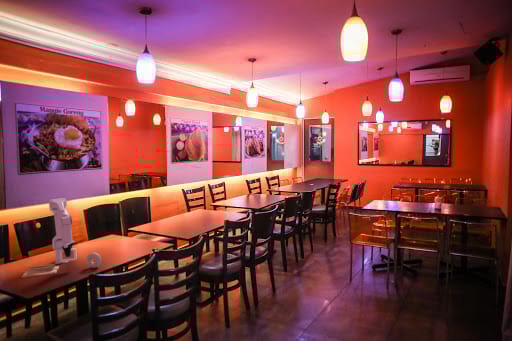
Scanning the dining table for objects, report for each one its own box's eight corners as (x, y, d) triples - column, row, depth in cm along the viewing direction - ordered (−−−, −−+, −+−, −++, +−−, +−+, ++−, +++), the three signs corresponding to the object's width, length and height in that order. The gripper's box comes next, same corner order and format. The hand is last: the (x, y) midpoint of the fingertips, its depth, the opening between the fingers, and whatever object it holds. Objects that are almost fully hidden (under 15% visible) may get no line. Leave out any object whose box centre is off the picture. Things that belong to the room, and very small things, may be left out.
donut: (102, 266, 223) (101, 251, 222) (99, 268, 219) (98, 253, 218) (88, 266, 224) (87, 251, 223) (85, 268, 220) (84, 253, 220)
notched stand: (27, 271, 219) (26, 266, 219) (59, 267, 225) (58, 261, 225) (21, 278, 208) (21, 272, 207) (55, 273, 214) (55, 267, 214)
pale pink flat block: (61, 260, 218) (60, 250, 217) (76, 258, 221) (76, 248, 220) (60, 261, 215) (59, 251, 215) (76, 259, 218) (75, 249, 218)
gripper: (72, 236, 211) (73, 258, 212) (75, 231, 225) (77, 251, 226) (59, 238, 209) (61, 260, 210) (63, 233, 223) (64, 253, 224)
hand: (68, 255), depth 218 cm, fingers closed on pale pink flat block, 2 cm apart
